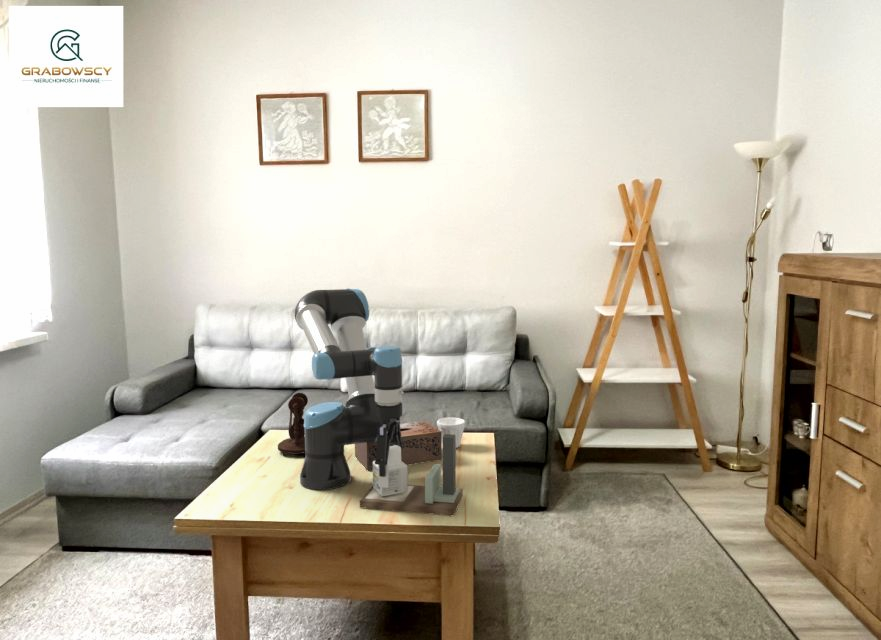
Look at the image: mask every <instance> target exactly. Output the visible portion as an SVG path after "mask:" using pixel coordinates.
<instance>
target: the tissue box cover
mask: <svg viewBox="0 0 881 640" xmlns="http://www.w3.org/2000/svg"><path fill="white" fill-rule="evenodd" d="M400 429H401V438H402V446H403V450H401V461H402V462H403V463H405V464H406V465H407V466H410V464H411V465H416V464H415V463H417V464H421V462H424V463H428V462H427V461H431V462H435V461H434V460H438V461H442V460H443V446H442V431H440V430H439V429H438V427H436V426H434V425H432V424H431V423H429V422H428V421H426V420H421V421H420V420H419V421H411V422H402V423H400ZM376 448H377V441H376V442H366V443H358V444H354V458H355V457H356V458H357V459H356V458H355V459H356V460H357V462H359V463H360V465H361V464H362V465H363V466H364V467H365V468H364V467H363V466H362V465H361V466H362V467H363V468H364V469H365V470H366V471H367V470H370V471H373V461H376ZM441 459H442V460H441Z"/></svg>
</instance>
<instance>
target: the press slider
mask: <svg viewBox="0 0 881 640" xmlns="http://www.w3.org/2000/svg"><path fill="white" fill-rule="evenodd" d="M456 449H457V448H456V435H451V434H445V435H444V436H443V446H442V464H437V463H434V464H433V465H432V467H431V468H430V470H428V473H427V474H426V476H425V477H424V486H425V503H431V504H432V503H433V502H434V501H435V502H447V503H454V501H455V499H456V497H457V495H458V493H459V488H460V487H456V485H457V483H456V480H457V478H456V477H457V475H456V463H457V461H456V459H457V458H456Z"/></svg>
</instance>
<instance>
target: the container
mask: <svg viewBox="0 0 881 640" xmlns="http://www.w3.org/2000/svg"><path fill="white" fill-rule="evenodd" d="M387 464H389V487H388V488H384V487H379V477H378V465H377V464H375V461H373V470H372V486H373V487H374V488H375V489H376V490H377V491H378V492H379V494H380V495H381V496H387V495H392V494H398V493H403V492H407V491H408V483H409V481H408V465H406V464H405V463H403V462H402V461H401V446H400V445H399V444H396V443H390V447H389V455H388V462H387Z"/></svg>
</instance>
